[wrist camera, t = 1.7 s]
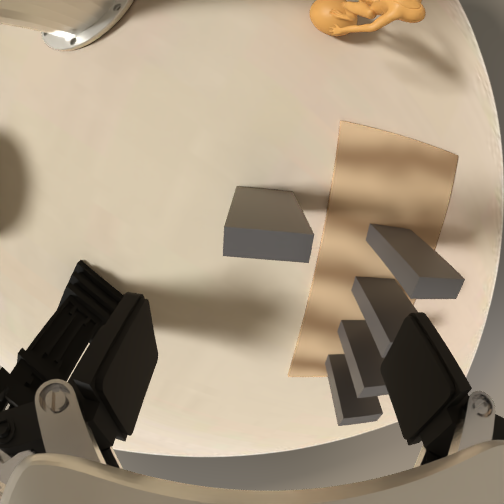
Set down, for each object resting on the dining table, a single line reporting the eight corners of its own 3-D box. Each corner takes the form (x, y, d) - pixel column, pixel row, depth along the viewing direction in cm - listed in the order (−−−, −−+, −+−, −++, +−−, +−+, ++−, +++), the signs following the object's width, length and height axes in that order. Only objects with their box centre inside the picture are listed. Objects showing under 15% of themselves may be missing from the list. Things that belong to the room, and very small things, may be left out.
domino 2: (369, 223, 25) (419, 276, 16) (409, 229, 25) (464, 279, 16) (365, 240, 25) (410, 298, 17) (405, 244, 26) (456, 298, 17)
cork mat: (340, 120, 21) (341, 120, 21) (456, 155, 21) (458, 155, 21) (287, 374, 35) (288, 376, 35) (376, 371, 35) (377, 373, 35)
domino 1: (236, 186, 24) (224, 226, 15) (292, 191, 24) (314, 234, 15) (235, 205, 25) (222, 255, 16) (289, 210, 25) (308, 262, 16)
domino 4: (341, 319, 30) (364, 387, 21) (377, 320, 30) (406, 382, 21) (337, 331, 31) (357, 398, 22) (372, 330, 31) (399, 392, 22)
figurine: (338, -10, 15) (386, -73, 4) (385, 31, 16) (460, -6, 6) (281, 34, 17) (301, -34, 7) (333, 78, 19) (397, 46, 8)
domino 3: (355, 276, 27) (390, 342, 18) (394, 278, 27) (435, 338, 18) (351, 290, 28) (381, 357, 19) (389, 291, 28) (426, 353, 19)
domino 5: (328, 354, 33) (343, 418, 24) (362, 353, 33) (382, 413, 24) (324, 363, 33) (338, 425, 25) (358, 362, 34) (376, 420, 25)
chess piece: (131, 301, 30) (57, 446, 12) (108, 332, 33) (48, 452, 15) (80, 259, 28) (-23, 382, 10) (64, 296, 30) (-14, 405, 12)
